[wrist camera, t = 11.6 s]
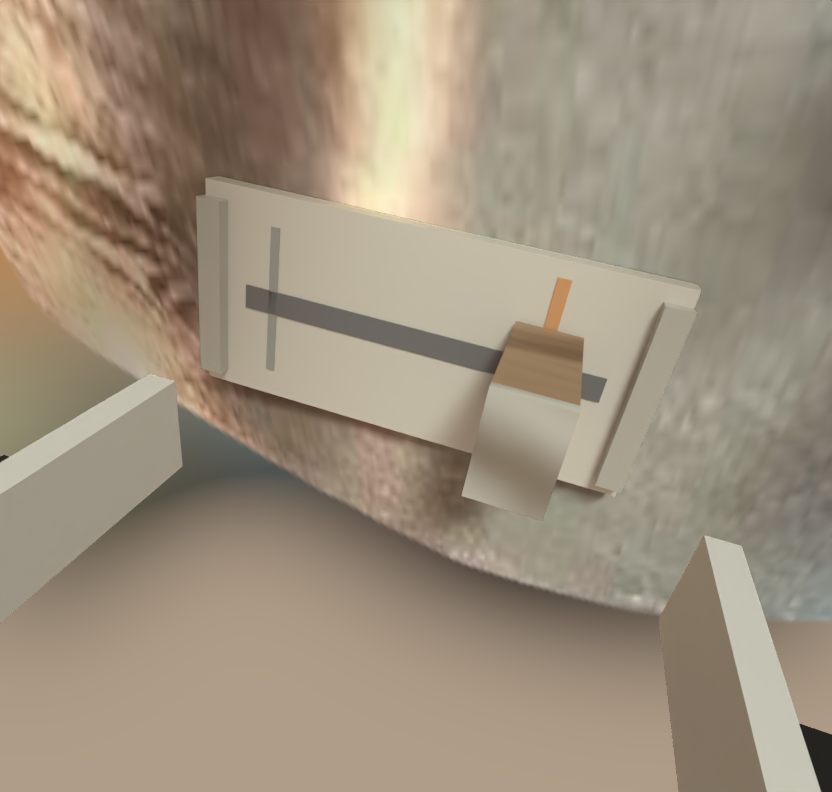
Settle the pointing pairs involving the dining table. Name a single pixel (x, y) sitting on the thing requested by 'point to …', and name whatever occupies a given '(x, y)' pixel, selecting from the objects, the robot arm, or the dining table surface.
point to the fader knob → (527, 421)
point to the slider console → (424, 320)
